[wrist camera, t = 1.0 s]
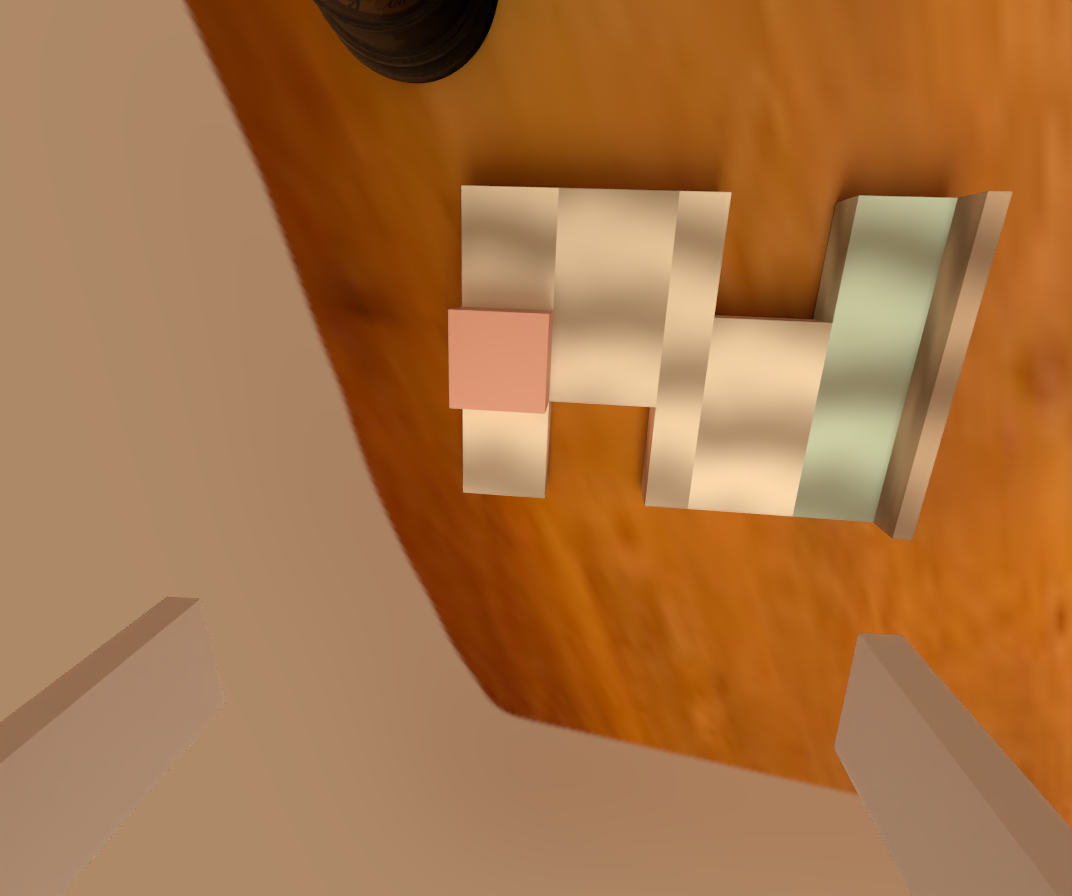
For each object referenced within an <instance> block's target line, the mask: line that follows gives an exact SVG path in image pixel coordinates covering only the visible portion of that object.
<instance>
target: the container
mask: <svg viewBox="0 0 1072 896" xmlns="http://www.w3.org/2000/svg"><path fill="white" fill-rule="evenodd" d="M313 1H314V2H315V3H316V4H317V5H318V7H319V9H320V11H321V13H322V14H323V16H324V18H325V19H326V21H327V22H328V23H329V25H330V26H331V27H332V29H333V30H334V31H335V32H336V34H337V35H338V37H339V38H340V39H341V41H342V42H343V43H344V45H345V46H346V47H347V48H348V49H349V51H350V52H351V53H352V54H353V55H354V56H355V57H356V58H357V59H358V60H360V61H361V62H362V63H363V64H365V65H366V66H367V67H369V68H370V69H372V70H373V71H375V72H377V73H379V74H381V75H383V76H385V77H388V78H390V79H394V80H398V81H402V82H408V83H426V82H432V81H436V80H439V79H442V78H444V77H447V76H449V75H450V74H452V73H454V72H455V71H457V70H458V69H460V68H461V67H462V66H464V65H465V64H466V63H467V62H468V61H469V60H470V59H471V58H472V57H473V56H474V54H475V53H476V52H477V51H478V49H479V48H480V46H481V45H482V43H483V41H484V40H485V38H486V36H487V34H488V31H489V29H490V26H491V24H492V21H493V18H494V15H495V11H496V6H497V2H498V0H313Z"/></svg>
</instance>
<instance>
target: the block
mask: <svg viewBox="0 0 1072 896" xmlns="http://www.w3.org/2000/svg"><path fill="white" fill-rule="evenodd" d="M552 325H553V311H552V310H529V309H507V308H484V307H457V308H453V309H448V339H449V408H454V409H471V410H488V411H504V412H521V413H538V414H545V412H546V409H547V406H548V403H549V390H550V369H551V347H552Z"/></svg>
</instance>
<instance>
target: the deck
mask: <svg viewBox="0 0 1072 896" xmlns="http://www.w3.org/2000/svg"><path fill="white" fill-rule="evenodd" d="M1011 195H1012V192H1003V191H987V192H982V193H978V194H973V195H969V196H964V197H960V198H941V197H902V196H862V195H859V196H856V197H852V198H849V199H846V200H843V201H840V202H836V204H835V210H834V215H833V220H832V225H831V230H830V235H829V240H828V245H827V250H826V256H825V261H824V266H823V271H822V276H821V281H820V286H819V291H818V297H817V302H816V307H815V312H814V317H813V319H792V318H769V317H746V316H723V315H715V308H716V301H717V293H718V286H719V279H720V272H721V264H722V257H723V250H724V243H725V236H726V228H727V221H728V214H729V207H730V199H731V192H704V191H664V190H625V189H585V188H545V187H506V186H466V185H461V209H462V307H484V308H507V309H529V310H552V311H553V325H552V347H551V369H550V390H549V403H548V406H547V409H546V412H545V414H538V413H521V412H504V411H488V410H471V409H463V492H466V493H480V494H493V495H507V496H521V497H535V498H545V494H546V489H547V484H548V466H549V445H550V423H551V402H552V401H555V402H572V403H589V404H607V405H624V406H641V407H650V410H649V420H648V429H647V438H646V448H645V457H644V466H643V476H642V485H641V492H642V496H643V500H644V504H645V506H658V507H672V508H685V509H699V510H713V511H726V512H740V513H754V514H768V515H781V516H795V517H809V518H822V519H836V520H850V521H864V522H874V523H875V524H876V525H877V526H878V527H880V528H881V529H882V530H883V531H884V532H885V533H887V534H888V535H889V536H890V537H891V538H893V539H906V540H912V538H913V535H914V531H915V528H916V524H917V521H918V517H919V514H920V510H921V507H922V504H923V500H924V497H925V493H926V490H927V486H928V483H929V479H930V476H931V472H932V469H933V465H934V462H935V459H936V455H937V452H938V448H939V445H940V441H941V438H942V434H943V431H944V427H945V424H946V420H947V417H948V414H949V410H950V407H951V403H952V400H953V396H954V393H955V389H956V386H957V382H958V379H959V375H960V372H961V368H962V365H963V362H964V358H965V355H966V351H967V348H968V344H969V341H970V337H971V334H972V330H973V327H974V323H975V320H976V317H977V313H978V310H979V306H980V303H981V299H982V296H983V292H984V289H985V285H986V282H987V278H988V275H989V272H990V268H991V265H992V261H993V258H994V254H995V251H996V247H997V244H998V240H999V237H1000V233H1001V230H1002V227H1003V223H1004V220H1005V216H1006V213H1007V209H1008V206H1009V202H1010V199H1011Z"/></svg>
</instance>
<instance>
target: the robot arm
mask: <svg viewBox="0 0 1072 896" xmlns="http://www.w3.org/2000/svg"><path fill="white" fill-rule="evenodd" d="M225 704H226V703H225V699H224V695H223V691H222V686H221V682H220V678H219V673H218V669H217V665H216V661H215V657H214V652H213V648H212V644H211V640H210V636H209V632H208V627H207V623H206V619H205V614H204V610H203V606H202V602H201V599H200V598H179V597H166V598H165V599H163V600H162V601H161V602H160V603H158V604H157V605H155V606H154V607H153V608H151V609H150V610H149V611H147V612H146V613H145V614H143V615H142V616H141V617H139V618H138V619H137V620H135V621H134V622H133V623H132V624H130V625H129V626H127V627H126V628H125V629H123V630H122V631H121V632H120V633H118V634H117V635H116V636H114V637H113V638H111V639H110V640H109V641H107V642H106V643H105V644H103V645H102V646H101V647H100V648H98V649H97V650H96V651H94V652H93V653H92V654H90V655H89V656H88V657H86V658H85V659H84V660H82V661H81V662H80V663H78V664H77V665H76V666H74V667H73V668H72V669H70V670H69V671H68V672H66V673H65V674H64V675H62V676H61V677H60V678H58V679H57V680H56V681H54V682H53V683H52V684H50V685H49V686H48V687H46V688H45V689H44V690H42V691H41V692H40V693H38V694H37V695H36V696H34V697H33V698H32V699H30V700H29V701H28V702H26V703H25V704H24V705H22V706H21V707H20V708H18V709H17V710H16V711H15V712H13V713H12V714H11V715H9V716H8V717H7V718H5V719H4V720H3V721H1V722H0V896H61V895H62V894H63V893H64V892H65V891H66V889H67V888H68V887H69V886H70V885H71V884H72V883H73V881H74V880H75V879H76V878H77V877H78V876H79V874H80V873H81V872H82V871H83V870H84V869H85V867H86V866H87V865H88V864H89V863H90V862H91V860H92V859H93V858H94V857H95V856H96V855H97V853H98V852H99V851H100V850H101V849H102V847H103V846H104V845H105V844H106V843H107V842H108V841H109V839H110V838H111V837H112V836H113V835H114V834H115V832H116V831H117V830H118V829H119V828H120V827H121V825H122V824H123V823H124V822H125V821H126V819H127V818H128V817H129V816H130V815H131V814H132V813H133V811H134V810H135V809H136V808H137V807H138V806H139V804H140V803H141V802H142V801H143V800H144V798H145V797H146V796H147V795H148V794H149V792H151V790H152V789H153V788H154V787H155V786H156V785H157V783H158V782H159V781H160V780H161V779H162V778H163V776H164V775H165V774H166V773H167V772H168V770H169V769H170V768H171V767H172V766H173V764H175V762H176V761H177V760H178V759H179V758H180V756H181V755H182V754H183V753H184V751H186V749H187V748H188V747H189V746H190V745H191V744H192V742H193V741H194V740H195V739H196V738H197V737H198V735H199V734H200V733H201V732H202V731H203V730H204V728H205V727H206V726H207V725H208V724H209V723H210V721H211V720H212V719H213V718H214V717H215V716H216V714H217V713H218V712H219V711H220V710H221V709H222V707H223V706H224V705H225ZM834 749H835V751H836V753H837V754H838V756H839V758H840V760H841V762H842V764H843V766H844V768H845V770H846V772H847V774H848V776H849V777H850V779H851V781H852V783H853V785H854V787H855V789H856V791H857V793H858V795H859V797H860V798H861V801H862V802H863V804H864V806H865V808H866V810H867V812H868V814H869V816H870V818H871V820H872V822H873V823H874V825H875V827H876V829H877V831H878V833H879V835H880V837H881V839H882V841H883V843H884V845H885V847H886V848H887V850H888V852H889V854H890V856H891V858H892V860H893V862H894V864H895V866H896V868H897V870H898V872H899V874H900V875H901V877H902V879H903V881H904V883H905V885H906V887H907V889H908V891H909V893H910V895H911V896H1072V829H1071V827H1070V826H1069V825H1068V824H1067V823H1066V822H1065V821H1064V819H1063V818H1062V817H1061V816H1060V815H1059V814H1058V813H1057V811H1056V810H1055V809H1054V808H1053V807H1052V806H1051V805H1050V803H1049V802H1048V801H1047V800H1046V799H1045V798H1044V797H1043V795H1042V794H1041V793H1040V792H1039V791H1038V790H1037V789H1036V787H1035V786H1034V785H1033V784H1032V783H1031V782H1030V781H1029V779H1028V778H1027V777H1026V776H1025V775H1024V774H1023V773H1022V771H1021V770H1020V769H1019V768H1018V767H1017V766H1016V765H1015V763H1014V762H1013V761H1012V760H1011V759H1010V758H1009V757H1008V756H1007V754H1006V753H1005V752H1004V751H1003V750H1002V749H1001V748H1000V746H999V745H998V744H997V743H996V742H995V741H994V740H993V738H992V737H991V736H990V735H989V734H988V733H987V732H986V730H985V729H984V728H983V727H982V726H981V725H980V724H979V722H978V721H977V720H976V719H975V718H974V717H973V716H972V714H971V713H970V712H969V711H968V710H967V709H966V708H965V706H964V705H963V704H962V703H961V702H960V701H959V700H958V698H957V697H956V696H955V695H954V694H953V693H952V692H951V690H950V689H949V688H948V687H947V686H946V685H945V684H944V682H943V681H942V680H941V679H940V678H939V677H938V676H937V674H936V673H935V672H934V671H933V670H932V669H931V668H930V666H929V665H928V664H927V663H926V662H925V661H924V660H923V658H922V657H921V656H920V655H919V654H918V653H917V652H916V650H915V649H914V648H913V647H912V646H911V645H910V644H909V642H908V641H907V640H906V639H905V638H904V637H903V636H902V635H883V634H864V633H859V634H858V639H857V644H856V648H855V653H854V658H853V662H852V667H851V672H850V676H849V681H848V686H847V690H846V695H845V700H844V704H843V709H842V714H841V718H840V723H839V728H838V732H837V737H836V742H835V746H834Z"/></svg>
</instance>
